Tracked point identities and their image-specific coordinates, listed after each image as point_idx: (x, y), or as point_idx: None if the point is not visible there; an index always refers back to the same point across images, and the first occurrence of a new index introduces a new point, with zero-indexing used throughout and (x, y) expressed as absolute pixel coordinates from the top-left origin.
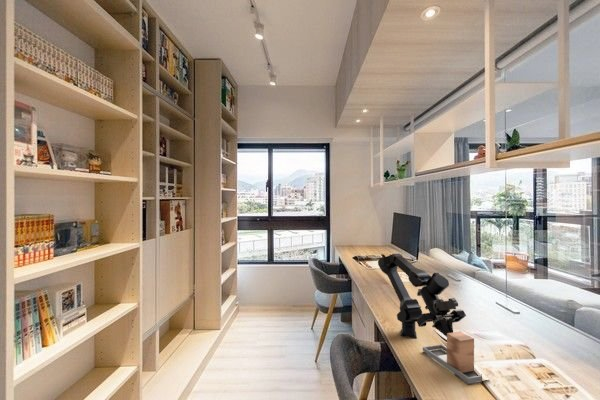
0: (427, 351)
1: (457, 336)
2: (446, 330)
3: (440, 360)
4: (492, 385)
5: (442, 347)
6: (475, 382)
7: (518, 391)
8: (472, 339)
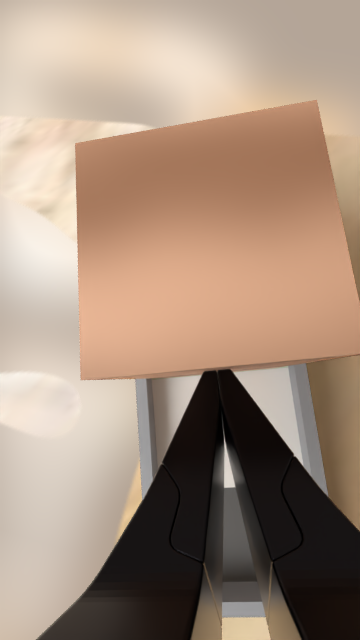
0: None
1: (264, 219)
2: (301, 469)
3: (309, 392)
4: None
5: None
6: None
7: (81, 137)
8: (105, 145)
